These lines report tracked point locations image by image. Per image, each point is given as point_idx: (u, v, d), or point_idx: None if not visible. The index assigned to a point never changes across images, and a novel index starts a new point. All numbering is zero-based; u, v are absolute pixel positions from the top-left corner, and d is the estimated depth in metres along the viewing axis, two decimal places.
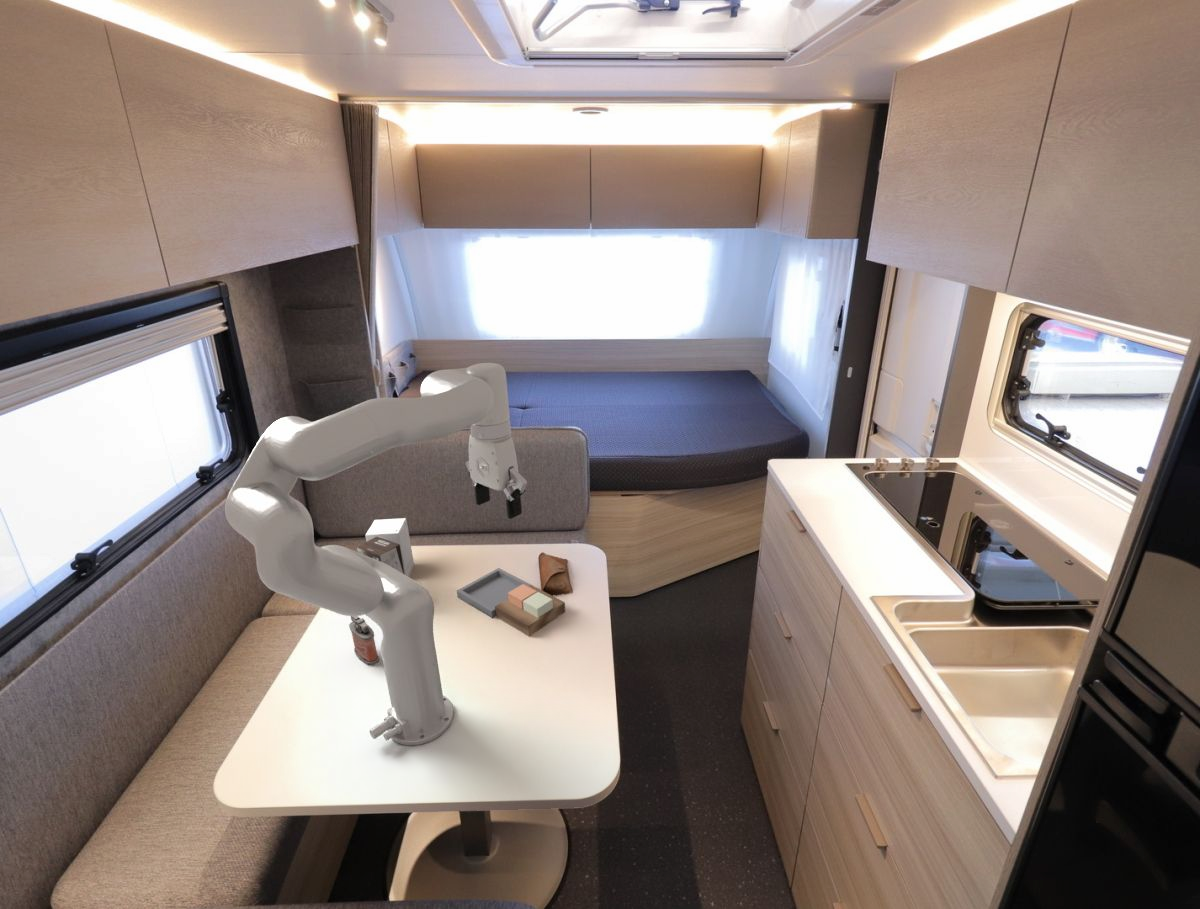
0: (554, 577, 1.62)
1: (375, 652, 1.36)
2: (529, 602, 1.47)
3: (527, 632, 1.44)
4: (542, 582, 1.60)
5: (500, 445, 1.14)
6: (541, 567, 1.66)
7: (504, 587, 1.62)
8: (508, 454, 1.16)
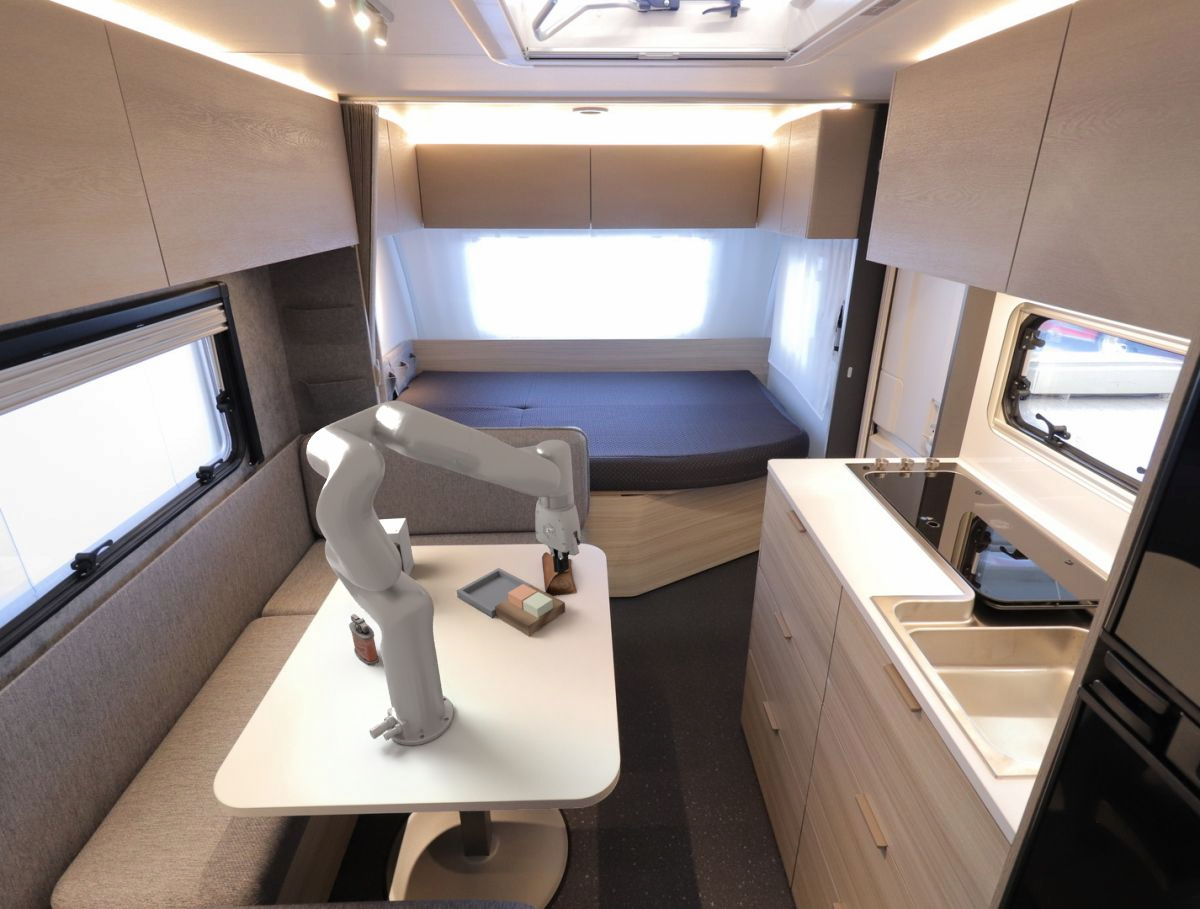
0: (558, 577, 1.62)
1: (375, 652, 1.36)
2: (529, 602, 1.47)
3: (527, 632, 1.44)
4: (546, 582, 1.60)
5: (566, 514, 1.28)
6: (545, 567, 1.67)
7: (504, 587, 1.62)
8: (573, 520, 1.30)
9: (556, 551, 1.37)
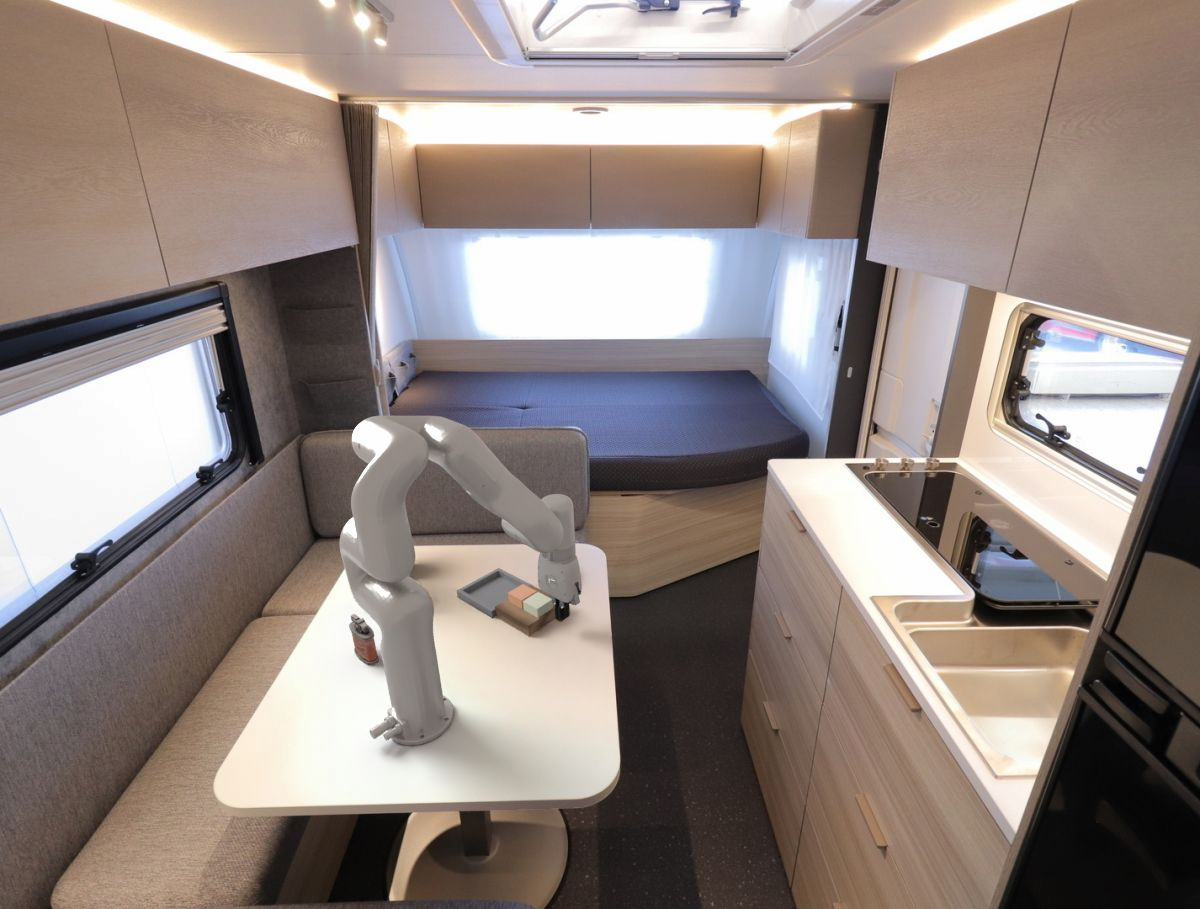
0: None
1: (375, 652, 1.36)
2: (529, 602, 1.47)
3: (527, 632, 1.44)
4: None
5: (568, 566, 1.33)
6: None
7: (504, 587, 1.62)
8: (574, 572, 1.35)
9: (557, 599, 1.41)
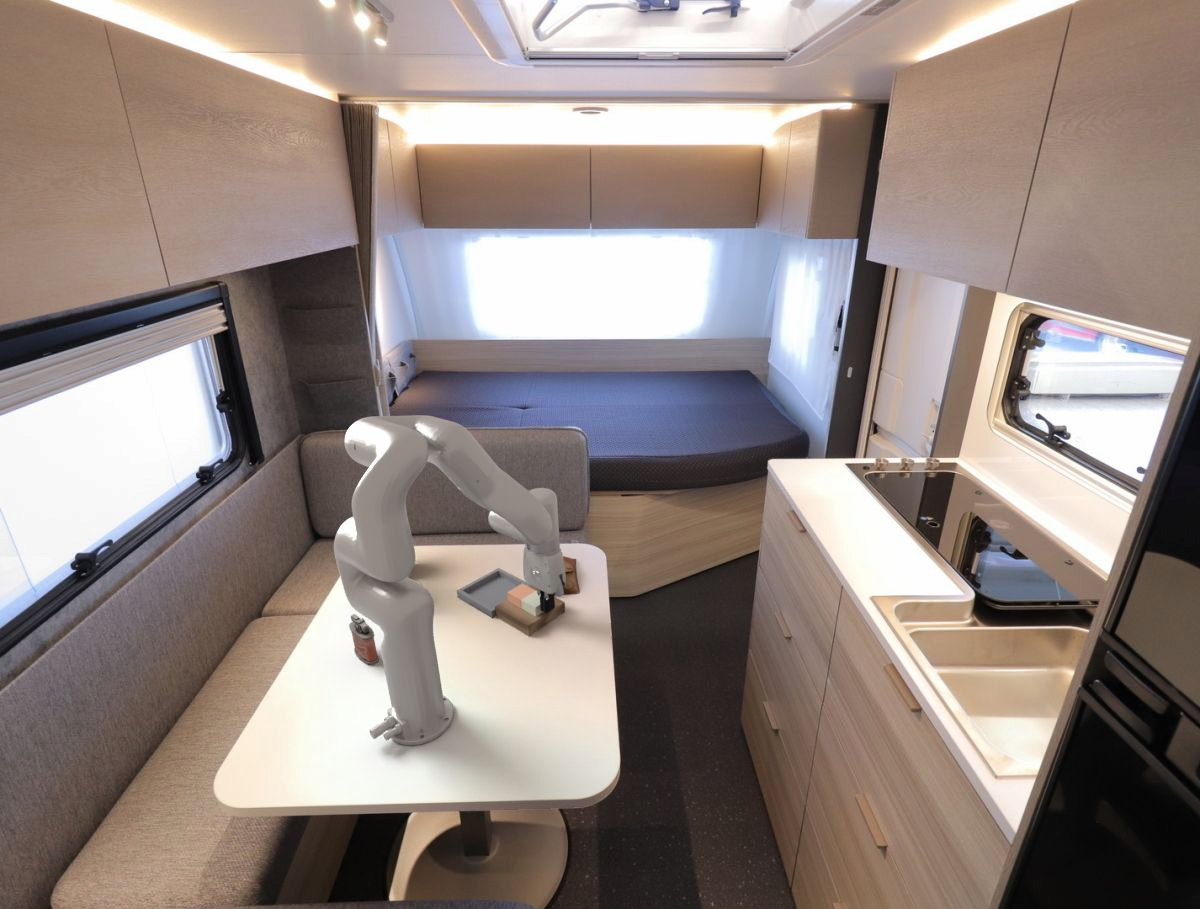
0: None
1: (375, 652, 1.36)
2: (527, 600, 1.48)
3: (527, 632, 1.44)
4: None
5: (552, 558, 1.36)
6: None
7: (504, 587, 1.62)
8: (558, 564, 1.38)
9: (543, 591, 1.44)
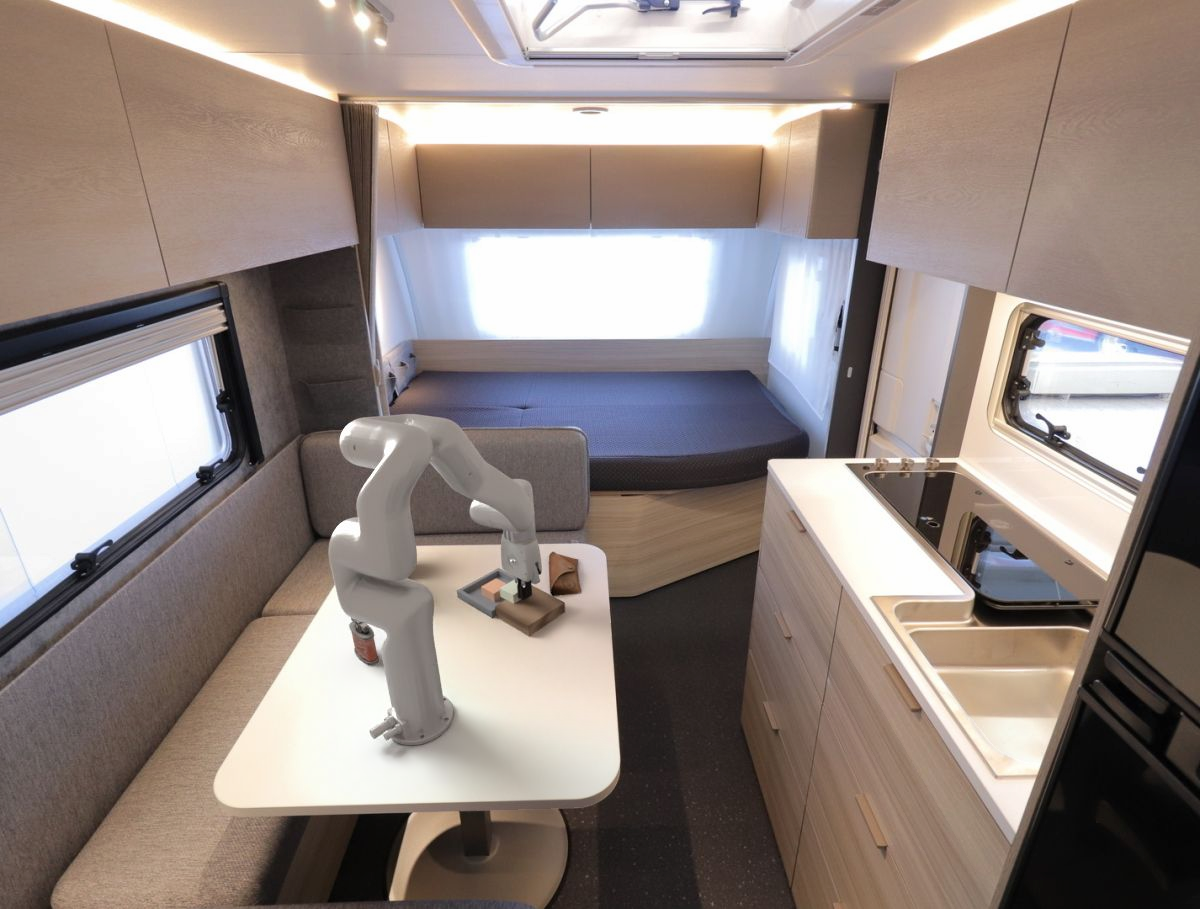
0: (563, 577, 1.62)
1: (375, 652, 1.36)
2: (505, 588, 1.53)
3: (527, 632, 1.44)
4: (551, 581, 1.60)
5: (527, 547, 1.41)
6: (551, 566, 1.67)
7: None
8: (534, 553, 1.43)
9: (520, 579, 1.49)
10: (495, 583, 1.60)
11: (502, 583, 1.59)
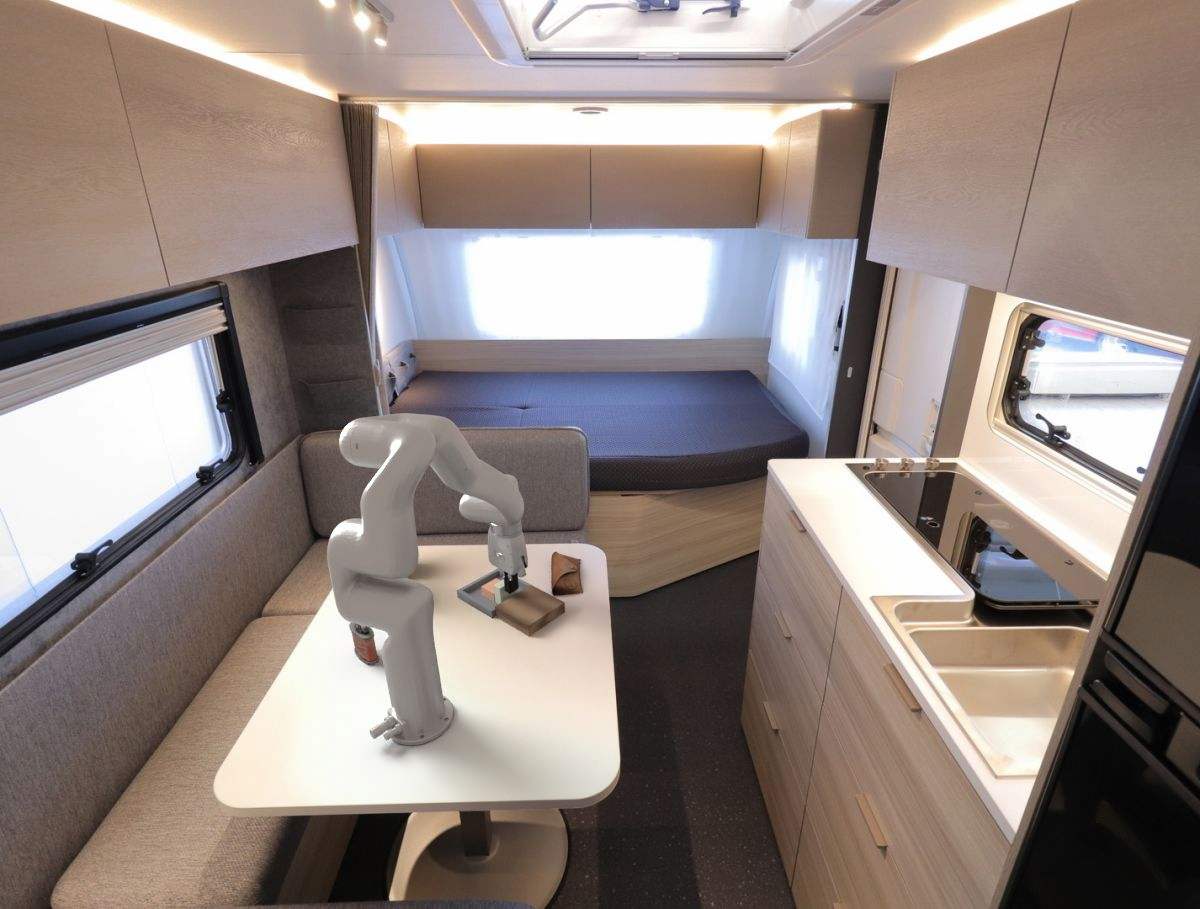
0: (565, 577, 1.62)
1: (375, 652, 1.36)
2: None
3: (527, 632, 1.44)
4: (552, 581, 1.60)
5: (513, 540, 1.44)
6: (553, 566, 1.67)
7: None
8: (520, 546, 1.46)
9: (507, 573, 1.52)
10: (495, 583, 1.60)
11: None
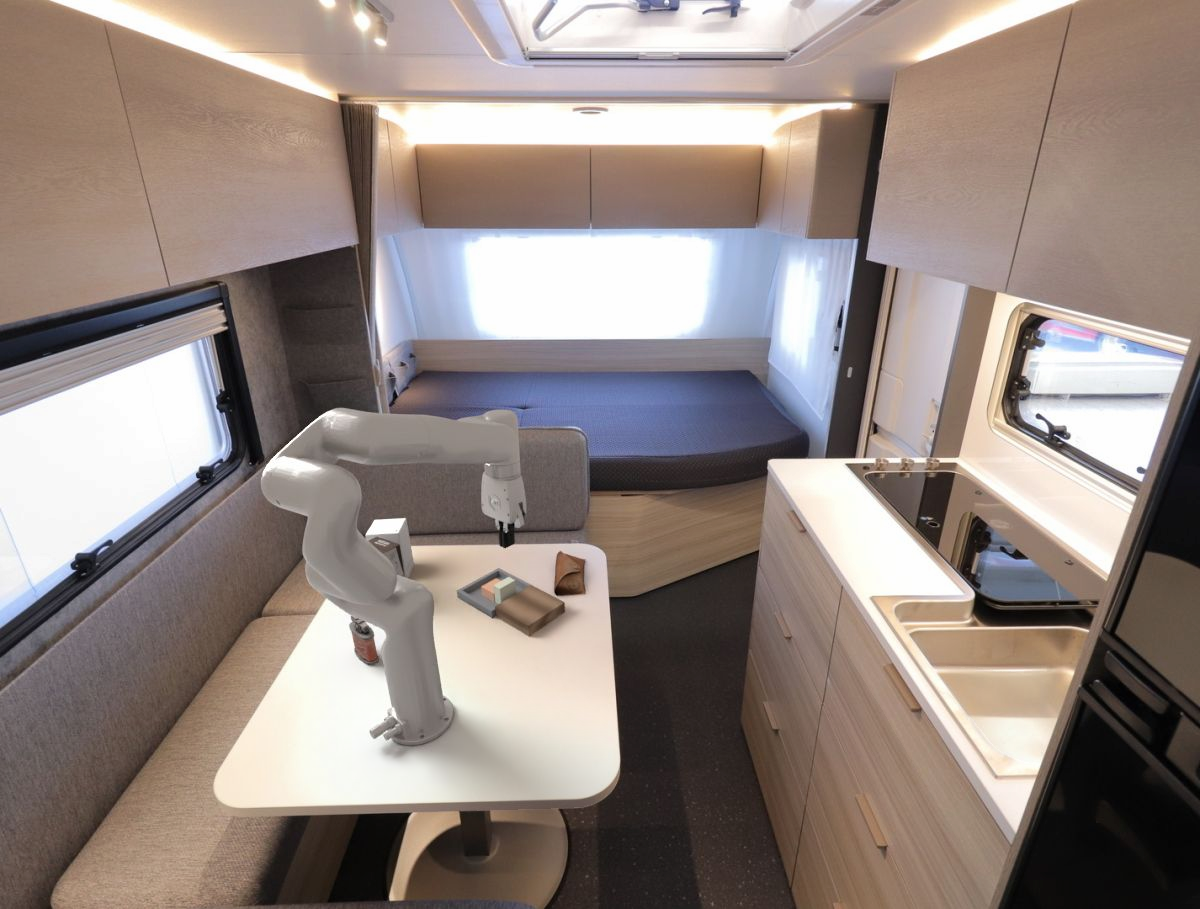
0: (568, 577, 1.62)
1: (375, 652, 1.36)
2: None
3: (527, 632, 1.44)
4: (555, 581, 1.60)
5: (511, 483, 1.28)
6: (557, 566, 1.67)
7: None
8: (518, 491, 1.29)
9: (502, 525, 1.36)
10: (495, 583, 1.60)
11: None
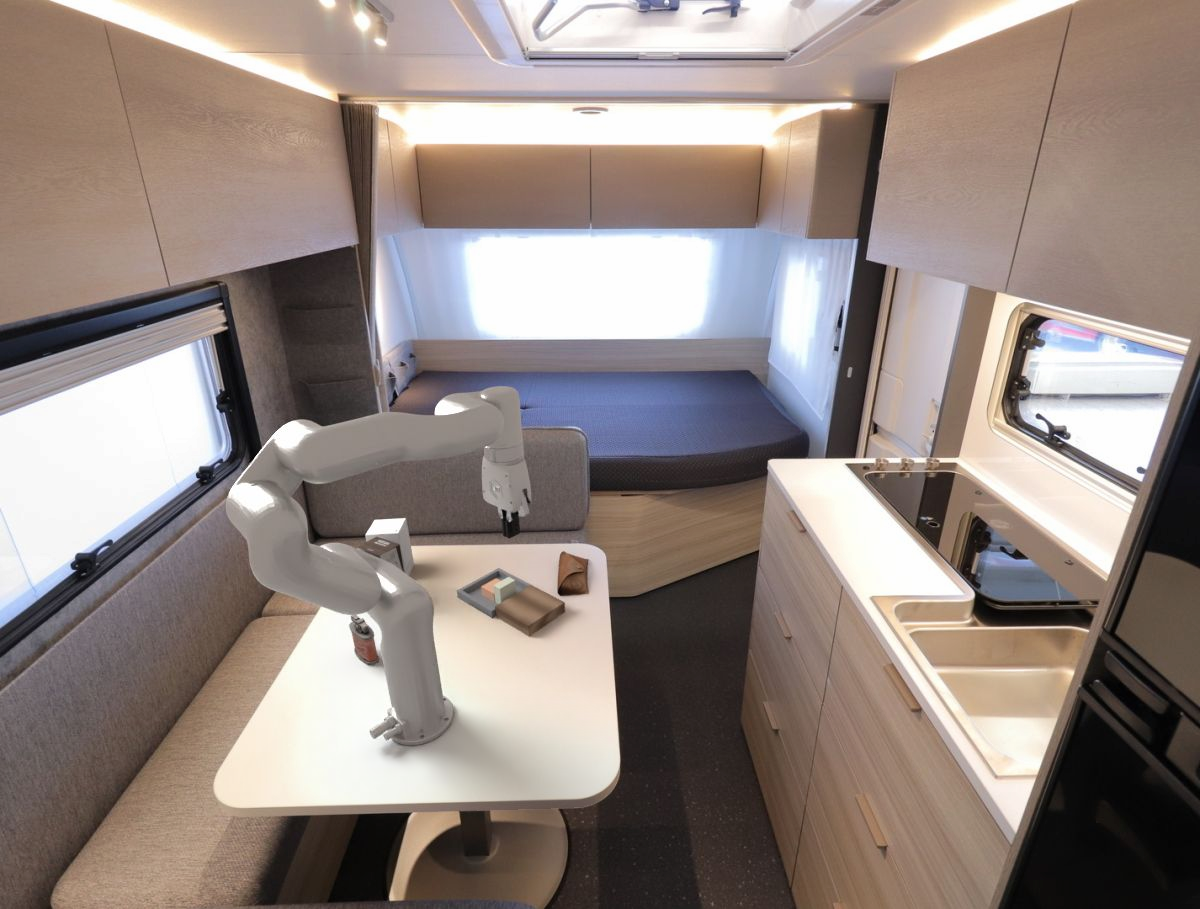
0: (571, 577, 1.62)
1: (375, 652, 1.36)
2: None
3: (527, 632, 1.44)
4: (559, 581, 1.60)
5: (514, 468, 1.16)
6: (560, 566, 1.67)
7: None
8: (521, 476, 1.17)
9: (505, 513, 1.24)
10: (495, 583, 1.60)
11: None
